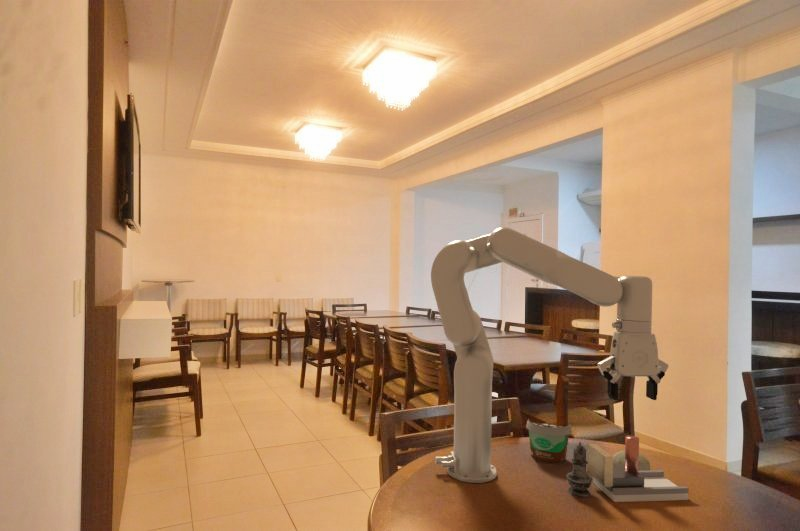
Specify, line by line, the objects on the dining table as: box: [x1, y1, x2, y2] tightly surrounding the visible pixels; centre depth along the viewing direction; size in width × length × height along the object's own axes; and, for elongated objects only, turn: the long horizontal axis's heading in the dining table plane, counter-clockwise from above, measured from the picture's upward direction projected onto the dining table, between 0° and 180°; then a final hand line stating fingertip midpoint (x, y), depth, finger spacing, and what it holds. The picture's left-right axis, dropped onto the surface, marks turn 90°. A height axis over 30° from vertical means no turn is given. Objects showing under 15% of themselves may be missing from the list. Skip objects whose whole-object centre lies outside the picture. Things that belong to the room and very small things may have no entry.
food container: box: [525, 418, 573, 465], centre depth 134 cm, size 12×6×10 cm, turn 68°
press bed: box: [592, 469, 690, 503], centre depth 116 cm, size 18×10×3 cm, turn 96°
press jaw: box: [587, 435, 644, 491], centre depth 116 cm, size 10×8×11 cm
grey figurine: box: [565, 441, 593, 499], centre depth 115 cm, size 6×6×12 cm
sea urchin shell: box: [612, 449, 651, 471], centre depth 129 cm, size 9×8×8 cm
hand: (632, 398), depth 116 cm, fingers open, 9 cm apart
